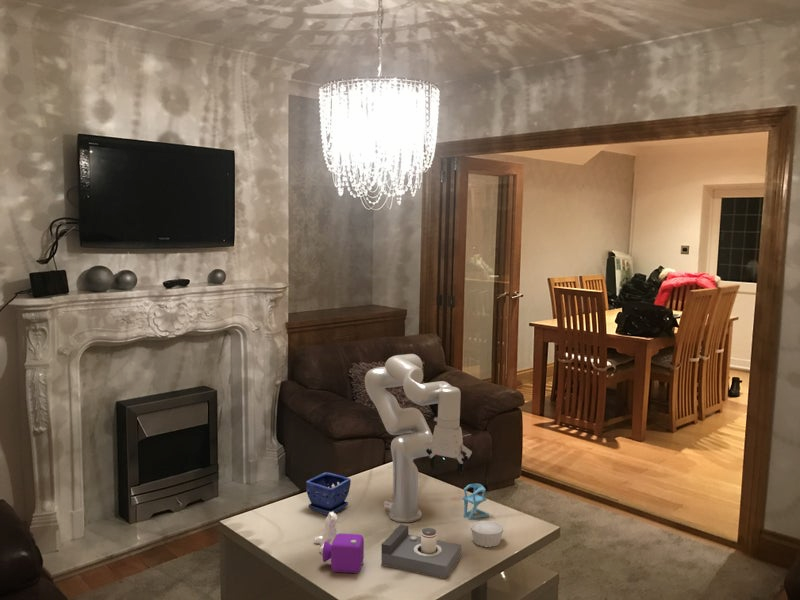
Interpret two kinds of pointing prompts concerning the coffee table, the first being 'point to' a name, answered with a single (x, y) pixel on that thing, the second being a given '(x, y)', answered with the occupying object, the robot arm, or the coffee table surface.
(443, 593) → the coffee table surface
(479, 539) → the ramekin
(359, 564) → the toy camera
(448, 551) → the camera body
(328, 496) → the flower pot
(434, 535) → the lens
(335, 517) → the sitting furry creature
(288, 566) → the coffee table surface
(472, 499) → the chair
